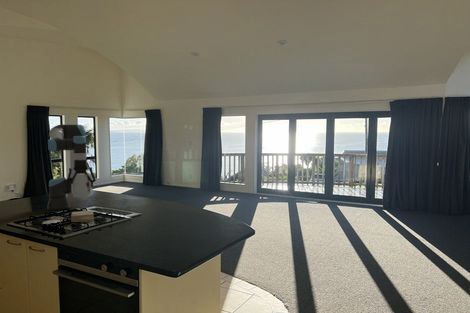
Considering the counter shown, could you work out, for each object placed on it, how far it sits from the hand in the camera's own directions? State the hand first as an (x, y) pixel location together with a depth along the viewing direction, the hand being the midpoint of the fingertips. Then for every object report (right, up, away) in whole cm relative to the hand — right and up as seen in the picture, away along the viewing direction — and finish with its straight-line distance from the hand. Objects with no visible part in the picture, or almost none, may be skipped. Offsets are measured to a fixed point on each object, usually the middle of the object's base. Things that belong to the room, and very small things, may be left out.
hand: (81, 192), depth 223 cm
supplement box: (0, -3, +2) cm, 4 cm away
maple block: (0, -19, +1) cm, 19 cm away
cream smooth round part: (-16, -19, -7) cm, 26 cm away
